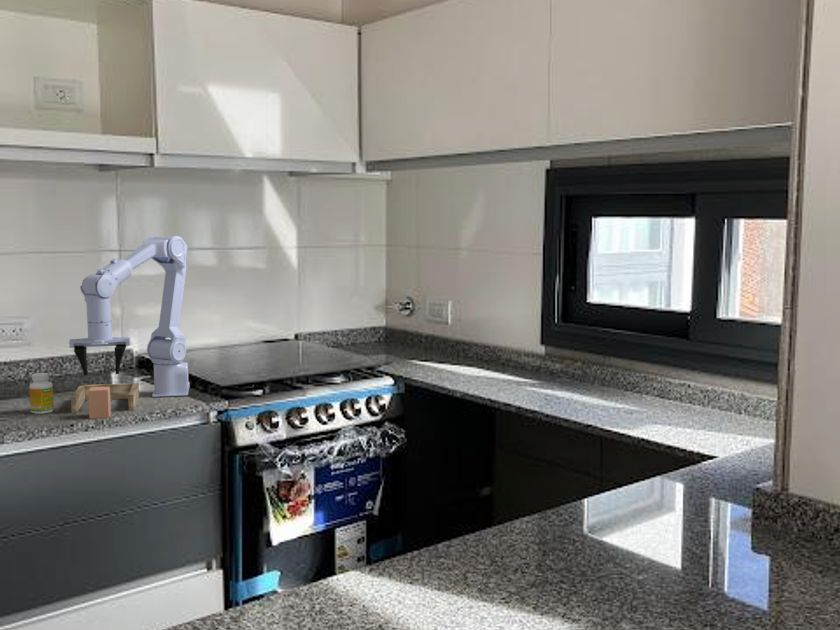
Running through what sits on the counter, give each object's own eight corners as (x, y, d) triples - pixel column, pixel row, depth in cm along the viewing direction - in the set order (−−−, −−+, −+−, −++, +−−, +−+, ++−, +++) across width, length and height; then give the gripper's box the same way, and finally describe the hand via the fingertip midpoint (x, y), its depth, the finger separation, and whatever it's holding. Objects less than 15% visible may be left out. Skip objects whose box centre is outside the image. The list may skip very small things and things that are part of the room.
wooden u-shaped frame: (139, 397, 239) (139, 383, 239) (134, 410, 224) (133, 394, 223) (80, 399, 236) (80, 385, 236) (71, 412, 220) (70, 397, 220)
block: (110, 413, 220) (109, 386, 219) (108, 417, 216) (107, 389, 215) (92, 414, 219) (90, 387, 218) (89, 418, 215) (88, 390, 214)
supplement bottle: (45, 414, 219) (43, 376, 217) (25, 413, 220) (24, 375, 218) (58, 410, 224) (56, 372, 223) (39, 409, 225) (37, 371, 224)
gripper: (66, 324, 216) (69, 378, 218) (127, 322, 219) (130, 375, 221) (70, 321, 223) (73, 373, 224) (130, 319, 226) (132, 370, 228)
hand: (101, 374), depth 223 cm, fingers open, 7 cm apart
